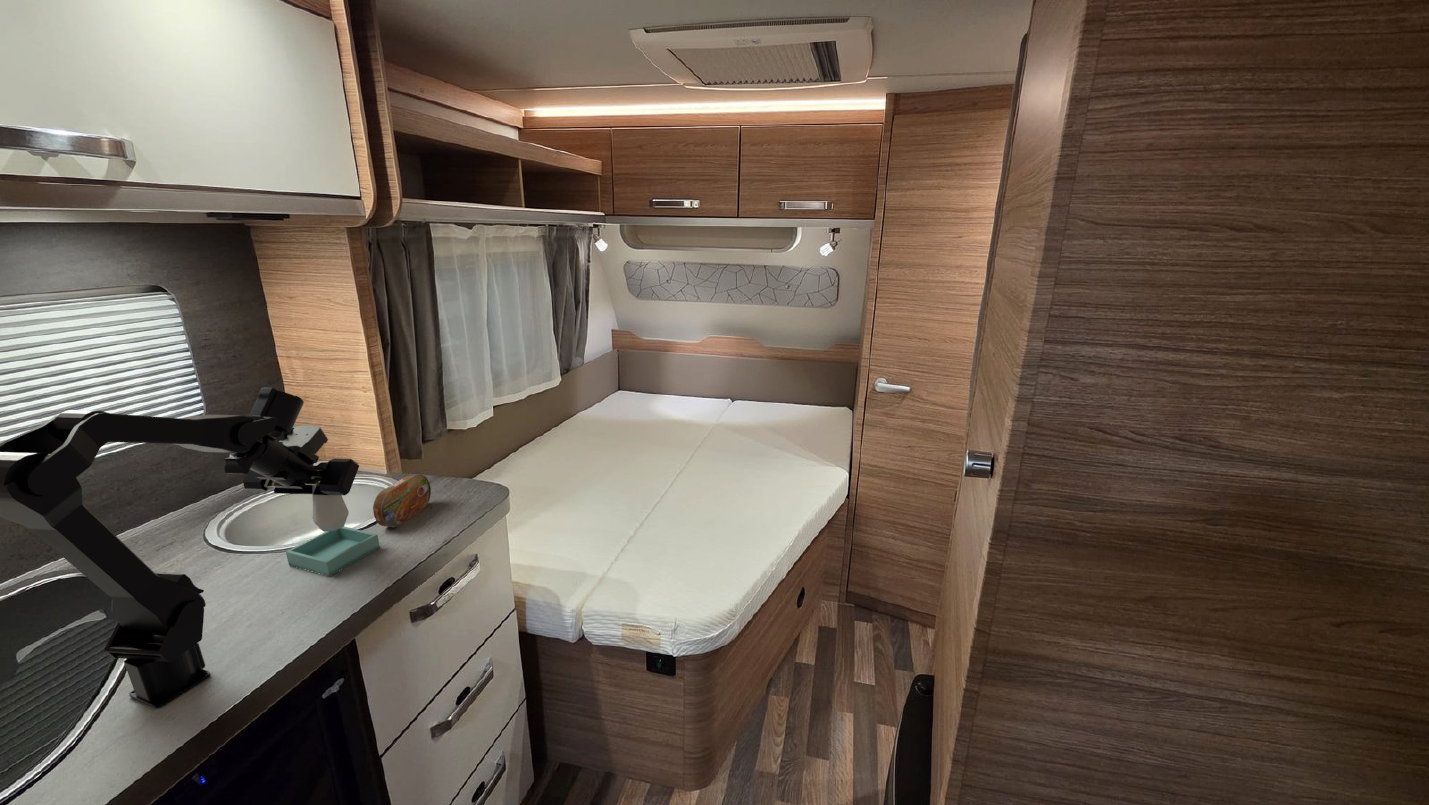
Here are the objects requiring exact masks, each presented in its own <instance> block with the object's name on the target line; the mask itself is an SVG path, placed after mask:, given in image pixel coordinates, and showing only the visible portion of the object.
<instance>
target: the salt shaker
mask: <svg viewBox="0 0 1429 805" xmlns="http://www.w3.org/2000/svg"><path fill="white" fill-rule="evenodd" d="M328 461H329V460H318V461H317V463H314V466H317V465H318V464H319V463H321V462H328ZM318 471H319V470H318ZM316 486H317V485H312V494H311V496H312V497H311V498H312V501H311V502H312V505H311V507H312V510H311V511H312V512H311V514H312V516H311V517H312V518H311V519H312V520H313V523H314V524H315V525H316V526H317V527H318V528H319V529H320V530H321V531H322V532H323V533H324V532H326V531H335V530H337V529H339V528H341V527H345V524H346V522H347V519H348V517H349V513H350V512H349V508H348V507H347V504H346V502H345V501H344V497H343V495H313V493H314V490H315V488H316Z"/></svg>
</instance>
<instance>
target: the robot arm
mask: <svg viewBox="0 0 1429 805" xmlns="http://www.w3.org/2000/svg"><path fill="white" fill-rule="evenodd" d="M304 405H305V404H304V400H303V398H301V397H300V396H297V395H293V394H291V393H289V392H285V391H281V390H277V389H276V388H275V387H261V389H260V391H259V393H258V395H257V399H256V401H255V403H254V405H253V407H252V409H251V411H250V413H249V415H245V414H244V415H240V414H239V415H238V414H236V415H235V414H200V415H191V416H186V417H180V418H179V417H163V416H152V415H138V414H137V415H135V414H123V413H110V412H107V411H104V410H90V409H89V410H88V409H87V410H85V409H84V410H83V409H70V410H69V409H68V410H65V411H63V412H60V413H58V414H55V415H54V416H52V417H51V418H50V419H48V420H46V421H45V422H44V423H42V424H41V425H38V426H36V427H34V428H32V429H29V430H26V431H24V432H22V433H20V434H17V435H15V436H13V437H11V438H9V439H6V440H4V441H3V442H0V518H1V519H4V520H6V521H10V522H12V523H15V524H18V525H20V526H23V527H25V528H27V529H29V530H30V531H31V532H33V534H35V535H36V536H37V537H38V538H40V539H41V540H42V541H43V542H44V543H45V544H46V545H48V546H49V547H51V548H52V549H53V550H54V551H55V552H56V553H57V554H59V555H60V556H61V557H63V559H65V561H67V562H68V563H70V564H71V565H72V566H73V567H74V568H75V569H76V570H78V571H79V572H80V573H81V574H82V575H83V576H84V577H86V578H87V579H88V580H90V582H92V583H93V584H94V585H95V586H97V587H98V588H99V589H100V590H101V591H103V592H104V593H105V594H106V595H107V596H108V597H109V598H110V599H111V614H112V615H113V617H114V618H115V620H116V621H117V624H116V626H115V628H114V630H113V631H112V634H111V636H110V638H109V639H108V641H107V643H106V645H105V647H104V649H103V651H104V653H106V654H107V655H108V656H109V657H110V658H112V659H114V660H118V659H122V660H123V659H125V660H124V661H123V664H124V667H125V668H126V672H127V675H128V678H129V681H130V683H131V685H132V688H133V689H132V690H131V691H129V693H128V696H129V697H130V698H132V699H134V700H137V701H139V702H141V703H144V704H145V705H148V706H150V707H152V708H154V709H157V708H161V707H163V706H165V705H166V704H168V703H169V702H171V701H172V700H174V699H176V698H177V697H179V696H181V695H182V694H184V693H186V692H187V691H188V690H190V689H191V688H193V687H195V686H196V685H198V684H200V683H201V682H203V681H205V680H206V679H208V678H210V677H211V672H210V671H209V670H207V669H205V667H206V662H205V659H204V657H203V656H204V655H203V653H202V650H201V645H200V644H199V643H200V642H201V641H202V640H203V632H204V619H205V618H204V617H205V607H206V600H205V599H204V597H203V595H201V594H203V593H204V592H205V589H202V588H199V587H197V586H196V585H195V584H194V582H193V581H192V579H191V577H189V576H188V575H187V574H184V573H171V572H170V573H169V572H154V570H152V569H151V567H149V565H147V563H145V562H144V561H143V560H142V559H141V558H140V557H139V556H138V555H137V554H135V552H133V551H132V550H131V549H130V547H128V546H127V545H126V544H125V543H124V542H123V541H122V540H121V539H120V538H119V537H118V536H116V534H115V533H113V531H111V530H110V529H109V527H107V525H105V524H104V523H103V522H102V521H101V520H100V519H98V517H96V515H94V513H92V512H91V511H90V510H89V508H87V507H86V506H85V505H84V503H83V488H82V487H83V486H82V483H81V481H80V480H79V479H78V477H79V476H80V475H82V473H84V472H85V471H86V470H87V469H89V468H90V467H91V466H92V465H93V463H94V461H95V459H96V457H97V456H98V454H99V452H100V449H101V448H102V447H103V446H105V445H106V444H107V443H129V444H130V443H131V444H134V443H135V444H164V445H165V444H166V445H167V444H170V445H175V446H180V447H182V448H185V449H188V450H194V451H198V452H204V453H226V454H227V453H229V456H228V457H226V458H224V467H223V468H224V474H226V475H229V474H230V475H245V476H244V478H243V480H242V483H243V484H242V485H243V488H244V489H245V490H247V491H249V492H251V493H267V491H268V489H269V488H274V489H273V493H275V494H280V495H281V494H282V495H312V485H317V486H316V488H315V490H314V493H313V495H342V496H346V495H348V494H349V493H350V492H351V488H353V487H352V486H353V483H354V481H355V479H356V477H357V476H356V475H357V473H358V471H359V468H360V465H359V463H358V462H357V461H355V460H354V459H352V458H335V457H334V458H332V459H330V460H327V461H328V462H321V463H319V464H318V465H317V466H314V463H317V462H319V458H320V456H318V455H317V453H318V452H319V451H320V449H321V448H322V447H323V446H324V445H325V444H327V443H328V441H329V438H328V437H327V435H326V434H325V432H324V431H323V429H322V427H320V425H312V424H311V425H307V424H306V425H305V424H304V425H302V424H301V425H298V426H297V425H296V426H295V423H296V421H297V419H298V416H299V414H300V413H301V411H302V408H303V406H304ZM318 470H319V471H318ZM267 480H268V483H267ZM266 483H267V485H266ZM265 485H266V486H265Z"/></svg>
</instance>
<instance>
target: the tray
mask: <svg viewBox="0 0 1429 805" xmlns="http://www.w3.org/2000/svg"><path fill="white" fill-rule="evenodd" d="M378 549H381V545H380V541H379V535H378V533H373V532H370V531H365V530H361V529H356V528H352V527H347V526H344V527H341V528H339V529H337V530H335V531H326V532H324V531H323V532H322V533H320V534H318V535H316V536H314V537H313V538H310V539H309V540H306V541H305V542H303V543H300V544H298V545H296V546H294V547H292V548H290V549H288V550H286V551H285V556H286V559H287V562H288V566H289V565H290V566H289V567H292V566H293V568H296V567H297V568H296V569H299V568H301V569H300V570H303V569H306V570H305V571H307V570H309V571H308V572H310V571H313V572H312V573H314V572H316V573H315V574H317V573H320V574H319V575H321V574H323V575H322V576H325V575H326V577H328V576H330V577H332V576H333V574H334V575H335V574H337V573H339V572H340V571H339V570H341V569H342V570H344V569H346V568H348V567H349V566H351V565H353V564H355V563H356V562H358V561H360V560H361V559H363V558H365V557H367V556H368V555H370V554H371V553H373V552H375V551H377V550H378ZM357 560H358V561H357ZM342 570H341V571H342ZM338 571H339V572H338ZM336 572H337V573H336ZM331 575H332V576H331Z"/></svg>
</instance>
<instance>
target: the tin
mask: <svg viewBox="0 0 1429 805" xmlns="http://www.w3.org/2000/svg"><path fill="white" fill-rule="evenodd" d="M431 491H432V487H431V484H430V481H429V479H428V478H427V477H426V476H425V475H423V474H410V475H406V476H404V477H402V478H401V479H399V480H398V481H396V482H394V483H392V484H391V485H389V486H388V487H386V488H384V489H382V490H381V491H380V492H379V493H378V494H377V496H376V497H375V499H374V501H373V505H372V510H373V511H372V512H373V516H374V519H375V522H376V523H377V524H378V525H380V526H382V527H389V528H399V527H401V526H402V525H403V524H404V523H406V522H407V521H409V520H410V519H412V518H413V517H414V516H416V515H417V514H419V513H420V512H421V511H423V510H424V509H425V508H426V507H427V506H428V504H429V501H430V498H431V495H432V492H431Z"/></svg>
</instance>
